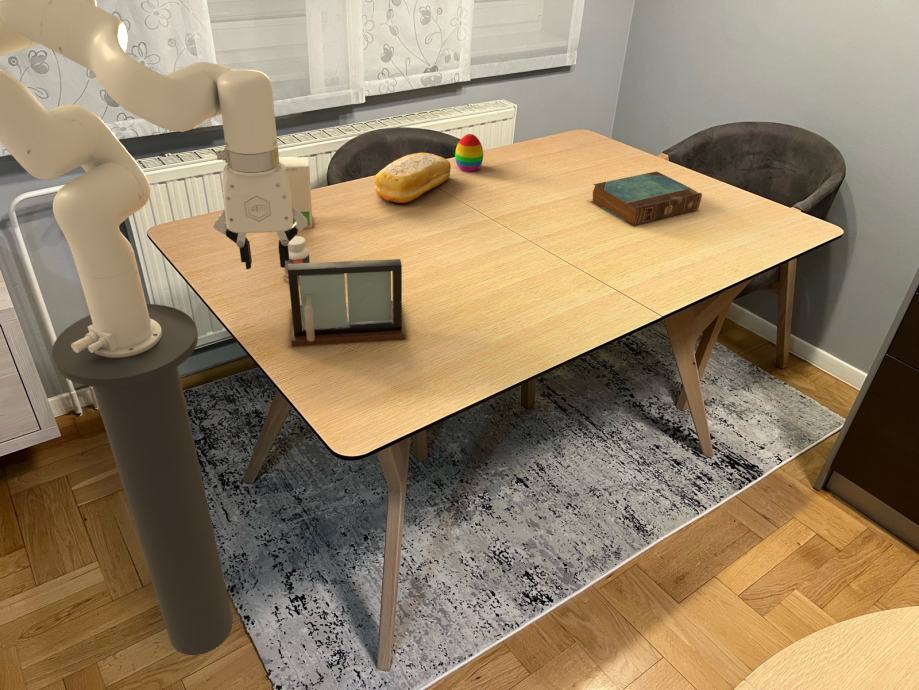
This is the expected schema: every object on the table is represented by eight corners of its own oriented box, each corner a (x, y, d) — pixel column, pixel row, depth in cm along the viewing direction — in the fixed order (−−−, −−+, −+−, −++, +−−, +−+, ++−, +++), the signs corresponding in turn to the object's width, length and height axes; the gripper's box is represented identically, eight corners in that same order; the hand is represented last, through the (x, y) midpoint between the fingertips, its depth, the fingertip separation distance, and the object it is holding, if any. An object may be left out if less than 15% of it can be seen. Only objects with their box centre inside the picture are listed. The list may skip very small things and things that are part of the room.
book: (633, 226, 184) (637, 208, 181) (589, 201, 196) (592, 183, 194) (698, 211, 194) (702, 193, 191) (652, 187, 206) (656, 170, 204)
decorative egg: (461, 161, 217) (462, 128, 212) (486, 166, 215) (488, 132, 209) (450, 170, 211) (451, 136, 205) (476, 175, 208) (478, 141, 203)
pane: (348, 344, 131) (346, 291, 125) (303, 347, 130) (298, 294, 123) (347, 323, 137) (344, 272, 130) (303, 326, 135) (298, 274, 129)
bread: (365, 200, 191) (364, 171, 186) (414, 169, 210) (414, 141, 206) (409, 211, 186) (410, 181, 181) (456, 178, 206) (457, 150, 201)
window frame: (405, 339, 138) (405, 268, 129) (292, 346, 134) (284, 273, 126) (398, 305, 148) (398, 237, 139) (292, 310, 145) (286, 241, 136)
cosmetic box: (278, 229, 174) (271, 166, 165) (278, 217, 179) (272, 156, 171) (314, 227, 176) (309, 165, 167) (313, 216, 181) (308, 155, 172)
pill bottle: (293, 286, 152) (290, 248, 147) (281, 276, 155) (277, 239, 150) (315, 279, 155) (312, 241, 150) (302, 269, 158) (299, 232, 153)
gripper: (191, 168, 105) (210, 278, 116) (310, 165, 108) (318, 273, 118) (197, 150, 111) (215, 256, 122) (310, 148, 114) (318, 252, 124)
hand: (266, 263), depth 120 cm, fingers open, 4 cm apart
